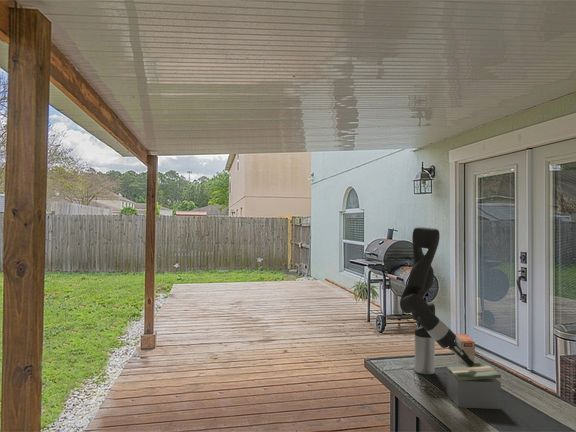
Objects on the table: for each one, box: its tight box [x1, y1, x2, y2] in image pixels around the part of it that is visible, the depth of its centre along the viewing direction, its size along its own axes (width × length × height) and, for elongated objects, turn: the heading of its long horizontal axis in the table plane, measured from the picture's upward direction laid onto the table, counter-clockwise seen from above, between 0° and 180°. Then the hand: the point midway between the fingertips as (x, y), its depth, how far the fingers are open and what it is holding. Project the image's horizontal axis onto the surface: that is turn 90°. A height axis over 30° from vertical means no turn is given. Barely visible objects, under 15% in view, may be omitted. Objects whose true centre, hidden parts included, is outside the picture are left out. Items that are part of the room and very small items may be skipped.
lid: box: [445, 362, 502, 381], centre depth 169 cm, size 15×16×1 cm
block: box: [446, 369, 502, 410], centre depth 169 cm, size 14×16×10 cm
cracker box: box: [454, 333, 476, 365], centre depth 187 cm, size 14×6×21 cm, turn 168°
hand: (471, 364), depth 169 cm, fingers closed
